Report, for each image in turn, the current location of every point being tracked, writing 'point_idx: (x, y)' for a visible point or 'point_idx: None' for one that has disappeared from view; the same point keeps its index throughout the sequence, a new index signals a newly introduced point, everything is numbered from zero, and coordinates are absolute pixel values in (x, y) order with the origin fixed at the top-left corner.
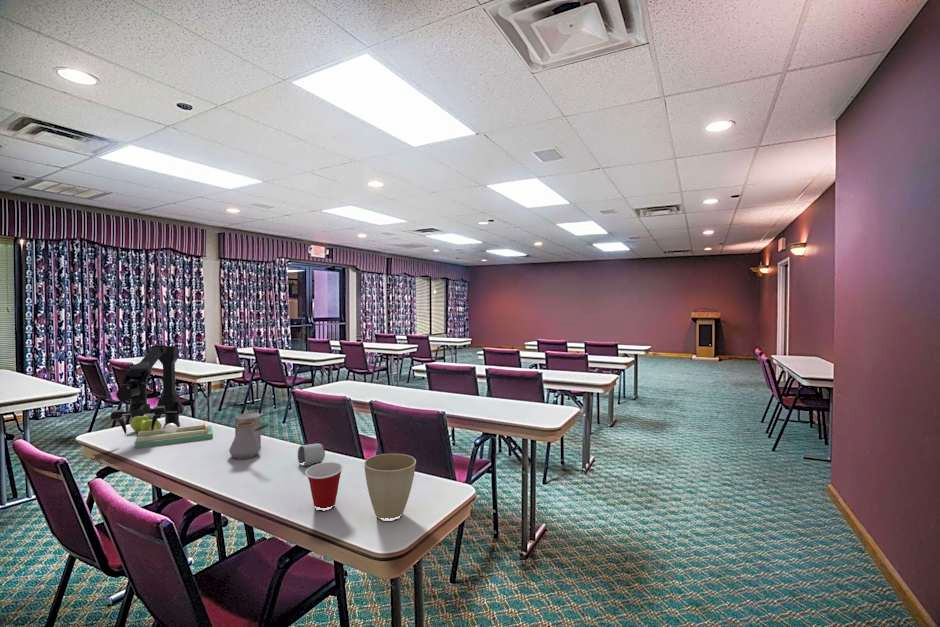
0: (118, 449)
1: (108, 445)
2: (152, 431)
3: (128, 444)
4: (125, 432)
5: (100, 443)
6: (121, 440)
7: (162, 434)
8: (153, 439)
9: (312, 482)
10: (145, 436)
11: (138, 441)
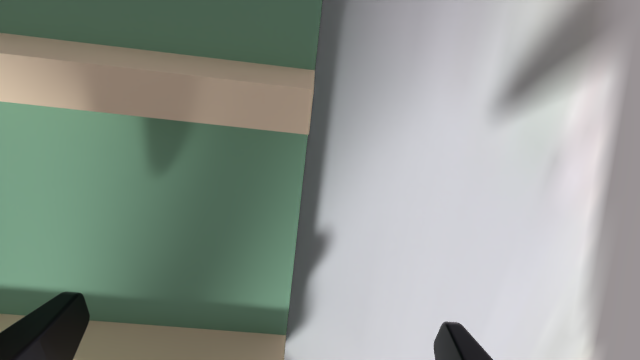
0: (522, 50)
1: (537, 275)
2: (133, 355)
3: (382, 211)
4: (460, 339)
5: (557, 354)
6: (411, 354)
7: (19, 263)
8: (49, 39)
9: None
10: (209, 279)
11: (281, 64)
